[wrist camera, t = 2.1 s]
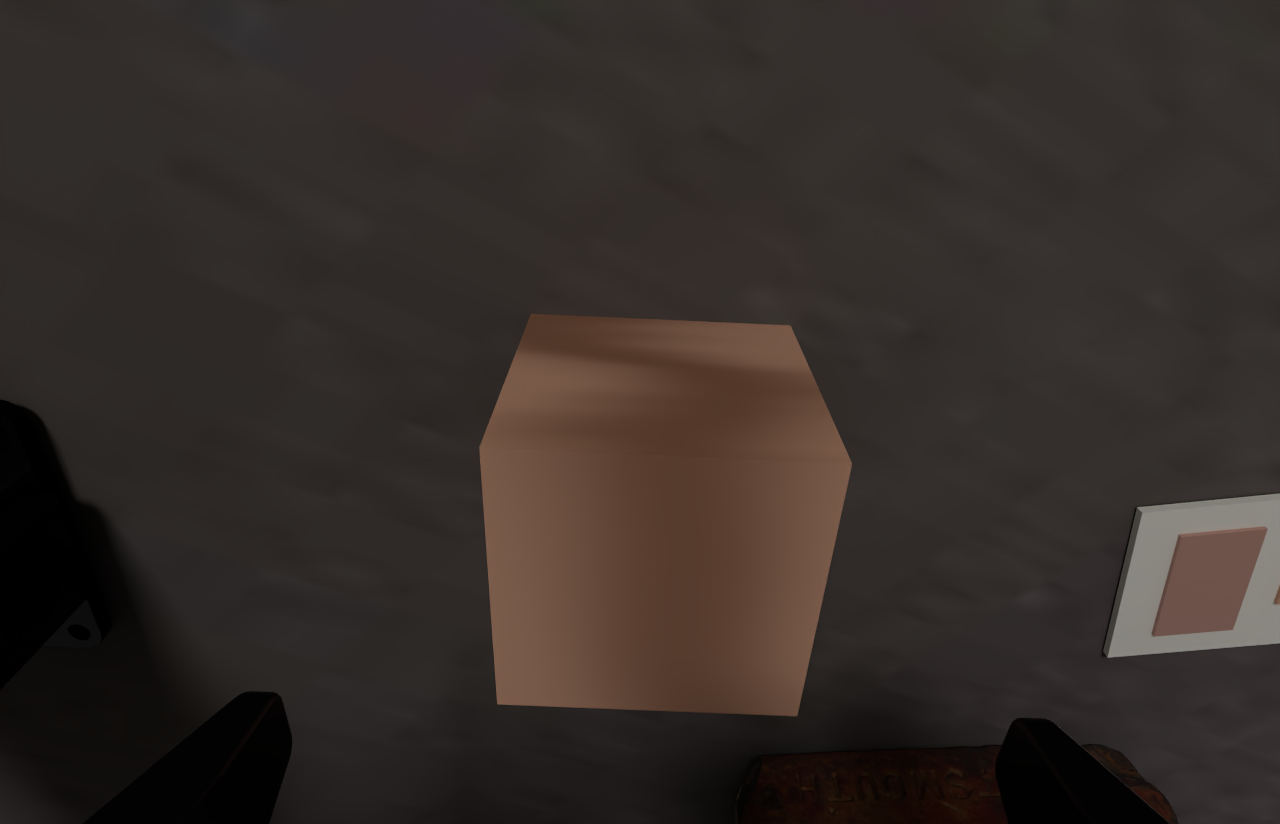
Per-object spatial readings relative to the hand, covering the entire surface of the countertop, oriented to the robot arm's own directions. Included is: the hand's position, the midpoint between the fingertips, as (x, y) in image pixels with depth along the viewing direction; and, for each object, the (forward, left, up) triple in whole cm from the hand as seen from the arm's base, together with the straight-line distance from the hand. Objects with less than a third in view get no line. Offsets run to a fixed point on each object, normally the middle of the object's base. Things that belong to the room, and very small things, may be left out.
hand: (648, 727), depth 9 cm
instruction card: (+14, -3, -7) cm, 16 cm away
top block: (0, 0, -7) cm, 7 cm away
